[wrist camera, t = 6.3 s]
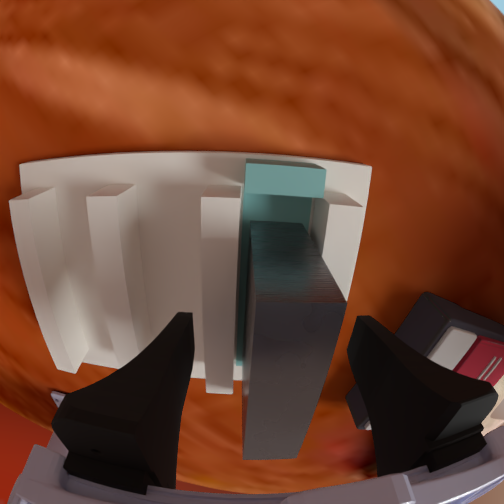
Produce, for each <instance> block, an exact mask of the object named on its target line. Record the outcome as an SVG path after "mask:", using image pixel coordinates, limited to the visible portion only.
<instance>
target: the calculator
mask: <svg viewBox="0 0 504 504" xmlns="http://www.w3.org/2000/svg"><path fill="white" fill-rule="evenodd" d="M394 335H395V336H397V337H398V338H399V339H400V340H402V341H403V342H404V343H406V344H407V345H408V346H410V347H411V348H413V349H414V350H416V351H417V352H419V353H420V354H422V355H423V356H425V357H427V358H428V359H430V360H432V361H434V362H435V363H437V364H439V365H441V366H443V367H445V368H448V369H450V370H452V371H454V372H457V373H459V374H462V375H465V376H468V377H471V378H475V379H479V380H483V381H487V382H490V383H491V385H492V386H494V385H495V384H496V383H497V382H498V381H499V379H500V378H501V377H502V376H503V374H504V325H501V324H499V323H497V322H495V321H493V320H490V319H488V318H486V317H483V316H481V315H478V314H476V313H473V312H471V311H469V310H466V309H464V308H462V307H460V306H458V305H457V304H455V303H453V302H450V301H448V300H446V299H443V298H441V297H439V296H437V295H434V294H432V293H429V292H424V293H423V294H422V295H421V296H420V297H419V299H418V300H417V302H416V304H415V305H414V307H413V308H412V310H411V311H410V313H409V314H408V316H407V317H406V319H405V320H404V322H403V323H402V324H401V326H400V327H399V329H398V330H397V332H396V333H395V334H394ZM345 398H346V401H347V403H348V406H349V409H350V411H351V414H352V417H353V419H354V422H355V425H356V427H357V429H366V430H371V425H370V421H369V416H368V413H367V409H366V406H365V404H364V401H363V398H362V396H361V393H360V391H359V388H358V385H357V383H356V384H355V386H354V387H353V388H352V389H351V390H350V391H349V393H348V394H347V395H346V397H345Z"/></svg>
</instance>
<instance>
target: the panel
mask: <svg viewBox="0 0 504 504" xmlns="http://www.w3.org/2000/svg"><path fill="white" fill-rule="evenodd" d="M346 307H347V301H346V300H345V298H344V296H343V294H342V292H341V290H340V289H339V287H338V285H337V283H336V281H335V279H334V278H333V276H332V274H331V272H330V270H329V269H328V267H327V265H326V263H325V262H324V260H323V258H322V256H321V255H320V253H319V251H318V249H317V248H316V246H315V244H314V242H313V241H312V239H311V237H310V236H309V234H308V232H307V230H306V229H305V227H304V225H303V224H302V223H292V222H274V221H255V220H250V229H249V246H248V263H247V280H246V298H245V315H244V333H243V351H242V441H243V460H268V459H291V458H297V455H298V453H299V450H300V448H301V445H302V443H303V440H304V438H305V435H306V433H307V430H308V427H309V425H310V422H311V419H312V417H313V414H314V411H315V408H316V406H317V403H318V400H319V397H320V394H321V391H322V388H323V385H324V382H325V379H326V376H327V373H328V370H329V367H330V363H331V360H332V357H333V354H334V350H335V347H336V343H337V340H338V336H339V333H340V329H341V326H342V322H343V318H344V314H345V310H346Z"/></svg>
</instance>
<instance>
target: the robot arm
mask: <svg viewBox="0 0 504 504" xmlns="http://www.w3.org/2000/svg"><path fill="white" fill-rule="evenodd" d="M194 353H195V342H194V327H193V313H191V312H178V313H176V315H175V316H174V317H173V318H172V320H171V321H170V322H169V323H168V324H167V326H166V327H165V328H164V329H163V330H162V331H161V332H160V333H159V335H158V336H157V337H156V338H155V339H154V340H153V341H152V342H151V343H150V344H149V345H148V346H147V347H146V348H145V349H144V350H143V351H142V352H140V353H139V354H138V355H137V356H136V357H135V358H133V359H132V360H131V361H130V362H128V363H127V364H126V365H124V366H123V367H121V368H120V369H118V370H117V371H115V372H114V373H112V374H110V375H109V376H107V377H105V378H103V379H102V380H100V381H98V382H96V383H94V384H92V385H89V386H87V387H85V388H82V389H80V390H77V391H74V392H72V393H69V394H63V393H59V392H56V391H52V393H51V396H52V398H53V400H54V401H55V403H56V405H57V406H58V410H57V412H56V414H55V416H54V418H53V420H52V423H51V424H52V428H53V430H54V432H53V434H52V437H51V439H50V441H49V444H48V446H47V448H45V447H42V446H40V445H37V444H35V445H34V446H33V449H32V451H31V453H30V456H29V458H28V460H27V463H26V465H25V468H24V470H23V473H22V474H20V475H19V477H18V479H17V481H16V483H15V485H14V487H13V490H12V492H11V495H10V497H9V500H8V503H7V504H468V503H470V502H471V501H473V500H475V499H476V498H478V497H480V496H482V495H483V494H485V493H487V492H488V491H490V490H491V489H492V488H494V487H495V486H497V484H499V483H500V482H502V481H503V480H504V426H500V427H498V428H496V429H494V430H493V431H490V432H489V433H487V434H486V435H485V436H483V435H482V433H481V431H483V429H484V427H483V425H482V424H481V423H482V421H483V420H484V419H485V418H486V416H487V415H488V414H489V413H490V411H491V410H492V409H493V407H494V406H495V404H496V402H497V400H498V394H497V392H496V391H495V389H494V388H493V386H492V385H491V383H490V382H487V381H483V380H479V379H475V378H471V377H468V376H465V375H462V374H459V373H457V372H454V371H452V370H450V369H448V368H445V367H443V366H441V365H439V364H437V363H435V362H434V361H432V360H430V359H428V358H427V357H425V356H423V355H422V354H420V353H419V352H417V351H416V350H414V349H413V348H411V347H410V346H408V345H407V344H406V343H404V342H403V341H402V340H400V339H399V338H398V337H397V336H395V335H394V334H393V333H392V332H390V331H389V330H388V329H387V328H385V327H384V326H383V325H382V324H380V323H379V322H378V321H376V320H375V319H374V318H372V317H371V316H369V315H367V316H357V318H356V322H355V325H354V328H353V332H352V335H351V338H350V341H349V345H348V348H347V353H348V358H349V362H350V366H351V370H352V372H353V375H354V378H355V380H356V383H357V385H358V388H359V391H360V393H361V396H362V398H363V401H364V404H365V406H366V409H367V413H368V416H369V421H370V425H371V430H372V435H373V440H374V446H375V454H376V462H377V475H378V477H377V478H373V479H368V480H364V481H359V482H354V483H348V484H343V485H337V486H330V487H323V488H317V489H312V490H306V491H302V492H294V493H279V494H217V493H204V492H193V491H182V490H176V489H175V488H176V467H177V453H178V441H179V431H180V423H181V415H182V410H183V406H184V401H185V397H186V393H187V389H188V385H189V381H190V377H191V373H192V369H193V361H194Z"/></svg>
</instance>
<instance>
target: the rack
mask: <svg viewBox="0 0 504 504" xmlns="http://www.w3.org/2000/svg"><path fill="white" fill-rule="evenodd" d="M19 166H20V180H21V190H22V195H20V196H17V197H15V198H13V199H11V200H9V206H10V213H11V219H12V225H13V230H14V236H15V241H16V246H17V250H18V255H19V259H20V263H21V267H22V271H23V275H24V279H25V282H26V286H27V289H28V293H29V296H30V299H31V302H32V305H33V308H34V311H35V314H36V317H37V320H38V323H39V326H40V328H41V331H42V334H43V336H44V339H45V341H46V344H47V346H48V349H49V351H50V354H51V356H52V358H53V361H54V363H55V365H56V367H57V369H59V370H63V371H67V372H71V373H75V374H76V372H77V370H78V368H79V366H80V364H81V363H82V362H85V363H90V364H95V365H100V366H106V367H111V368H117V369H120V368H121V367H123V366H124V365H126V364H127V363H128V362H130V361H131V360H132V359H133V358H135V357H136V356H137V355H138V354H139V353H140V352H142V351H143V350H144V349H145V348H146V347H147V346H148V345H149V344H150V343H151V342H152V341H153V340H154V339H155V338H156V337H157V336H158V335H159V333H160V332H161V331H162V330H163V329H164V328H165V327H166V326H167V324H168V323H169V322H170V321H171V320H172V318H173V317H174V316H175V315H176V313H178V312H191V313H193V327H194V342H195V353H194V361H193V369H192V373H191V377H192V378H205V379H206V393H219V394H233V380H242V351H243V333H244V315H245V298H246V280H247V263H248V246H249V229H250V220H255V221H274V222H292V223H302V224H303V225H304V227H305V229H306V230H307V232H308V234H309V236H310V237H311V239H312V241H313V242H314V244H315V246H316V248H317V249H318V251H319V253H320V255H321V256H322V258H323V260H324V262H325V263H326V265H327V267H328V269H329V270H330V272H331V274H332V276H333V278H334V279H335V281H336V283H337V285H338V287H339V289H340V290H341V292H342V294H343V296H344V298H345V300H346V301H347V299H348V295H349V291H350V286H351V282H352V278H353V273H354V269H355V264H356V259H357V255H358V250H359V245H360V239H361V234H362V229H363V223H364V217H365V212H366V205H367V199H368V193H369V186H370V179H371V171H372V167H371V166H368V165H366V164H360V163H353V162H346V161H338V160H330V159H321V158H312V157H302V156H291V155H279V154H265V153H248V152H225V151H144V152H121V153H105V154H92V155H81V156H70V157H61V158H53V159H45V160H37V161H30V162H26V163H23V164H19Z"/></svg>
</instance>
